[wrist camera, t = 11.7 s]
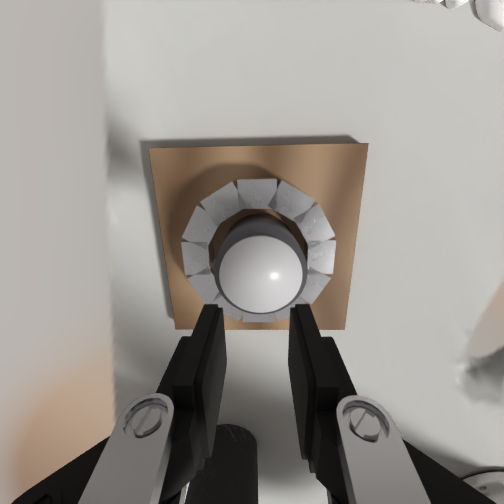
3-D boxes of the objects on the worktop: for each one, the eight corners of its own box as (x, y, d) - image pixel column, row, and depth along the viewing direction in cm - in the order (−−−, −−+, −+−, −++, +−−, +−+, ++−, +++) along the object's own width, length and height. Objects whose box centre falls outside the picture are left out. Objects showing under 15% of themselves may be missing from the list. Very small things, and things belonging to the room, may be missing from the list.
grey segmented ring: (333, 176, 18) (342, 177, 16) (322, 308, 22) (327, 322, 20) (182, 179, 19) (173, 180, 17) (196, 309, 22) (190, 322, 21)
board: (361, 144, 19) (368, 142, 17) (340, 321, 24) (344, 329, 23) (155, 149, 19) (148, 148, 18) (179, 321, 24) (175, 329, 23)
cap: (296, 211, 19) (310, 228, 14) (295, 280, 21) (307, 316, 16) (220, 215, 19) (208, 232, 14) (226, 283, 21) (217, 319, 16)
